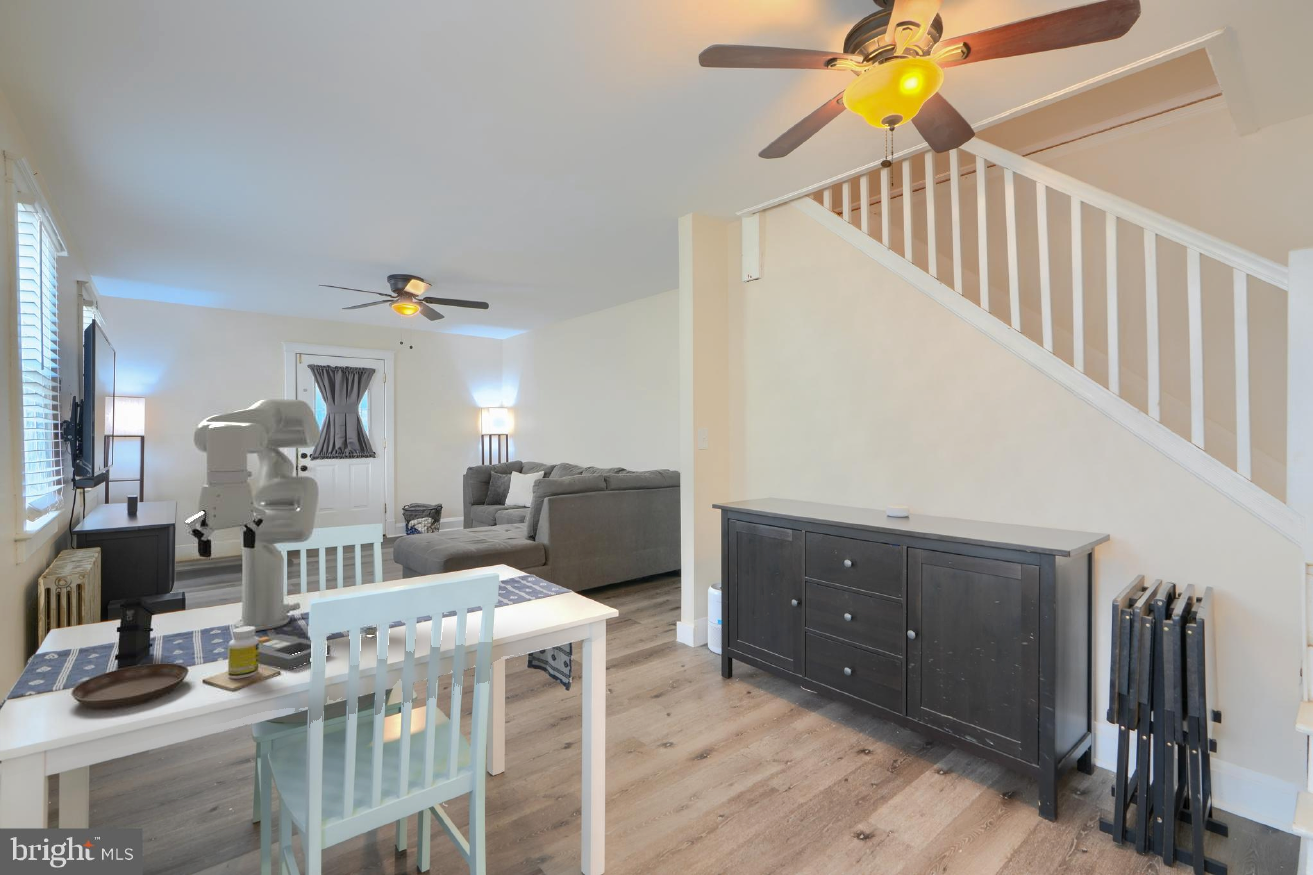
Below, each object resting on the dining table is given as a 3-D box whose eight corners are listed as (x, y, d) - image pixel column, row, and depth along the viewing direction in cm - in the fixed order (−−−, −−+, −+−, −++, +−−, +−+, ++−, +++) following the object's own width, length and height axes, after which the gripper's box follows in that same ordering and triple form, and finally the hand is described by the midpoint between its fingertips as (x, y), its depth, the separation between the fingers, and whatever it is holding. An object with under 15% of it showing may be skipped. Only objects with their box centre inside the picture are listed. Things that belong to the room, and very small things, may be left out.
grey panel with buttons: (279, 643, 149) (280, 631, 149) (330, 655, 142) (330, 642, 142) (238, 657, 140) (238, 644, 140) (289, 670, 133) (289, 656, 133)
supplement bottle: (260, 674, 128) (261, 629, 128) (230, 681, 125) (230, 634, 125) (256, 667, 132) (256, 623, 132) (226, 674, 129) (226, 628, 129)
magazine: (109, 669, 128) (120, 598, 134) (128, 675, 139) (138, 609, 144) (132, 666, 130) (142, 596, 135) (149, 672, 140) (158, 608, 146)
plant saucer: (188, 698, 119) (188, 683, 119) (63, 723, 108) (64, 707, 108) (188, 670, 133) (188, 656, 133) (77, 690, 122) (78, 675, 122)
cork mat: (251, 665, 135) (251, 663, 135) (280, 673, 131) (280, 670, 131) (202, 682, 126) (202, 679, 126) (232, 691, 122) (232, 688, 122)
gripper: (254, 473, 146) (254, 543, 147) (174, 480, 130) (175, 558, 131) (275, 475, 144) (275, 546, 144) (196, 483, 128) (197, 562, 128)
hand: (227, 552), depth 138 cm, fingers open, 9 cm apart
